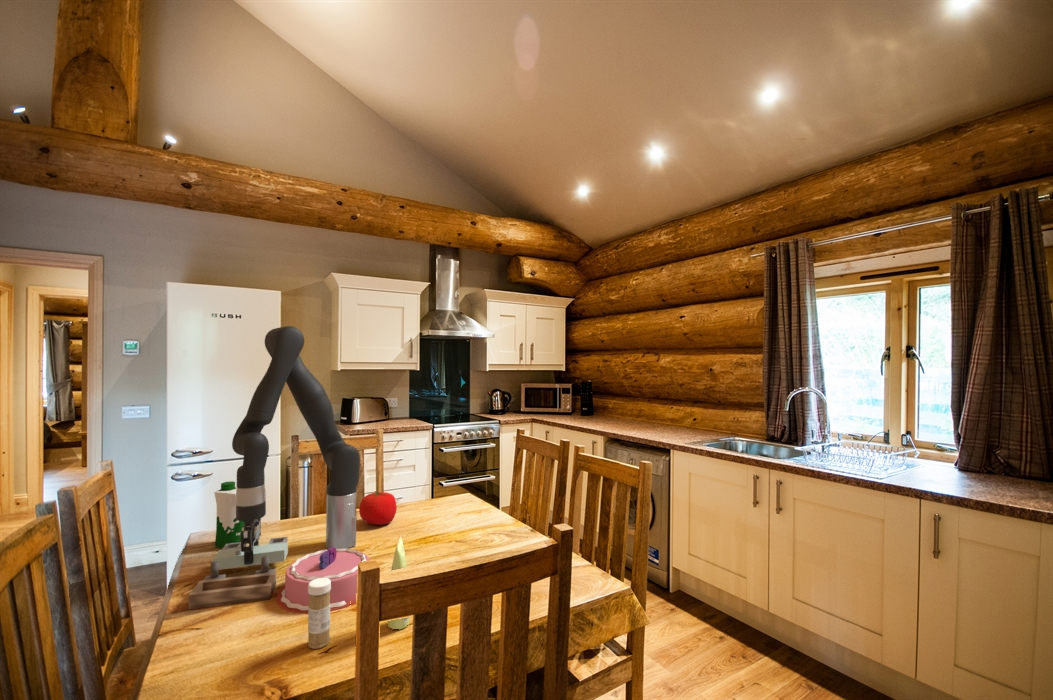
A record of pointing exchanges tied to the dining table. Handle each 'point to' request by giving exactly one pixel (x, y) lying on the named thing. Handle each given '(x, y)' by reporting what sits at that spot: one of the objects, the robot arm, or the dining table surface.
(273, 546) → the door
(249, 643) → the dining table surface
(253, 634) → the dining table surface
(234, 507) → the milk carton
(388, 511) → the tomato
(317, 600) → the sprinkles bottle
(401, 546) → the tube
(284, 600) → the cake
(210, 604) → the carcass
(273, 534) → the dining table surface
